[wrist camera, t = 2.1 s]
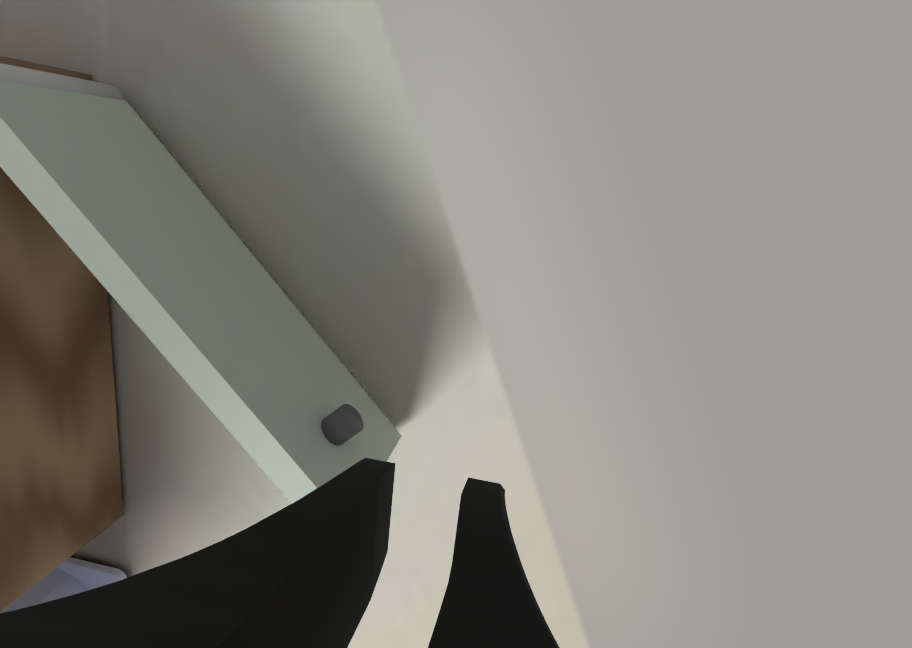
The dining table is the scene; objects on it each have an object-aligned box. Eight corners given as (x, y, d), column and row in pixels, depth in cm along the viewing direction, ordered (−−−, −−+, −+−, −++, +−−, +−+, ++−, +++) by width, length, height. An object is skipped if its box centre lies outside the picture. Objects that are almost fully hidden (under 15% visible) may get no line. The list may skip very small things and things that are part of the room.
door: (89, 99, 19) (-84, 72, 14) (122, 60, 19) (-47, 17, 13) (381, 449, 21) (322, 542, 16) (418, 424, 20) (371, 511, 15)
